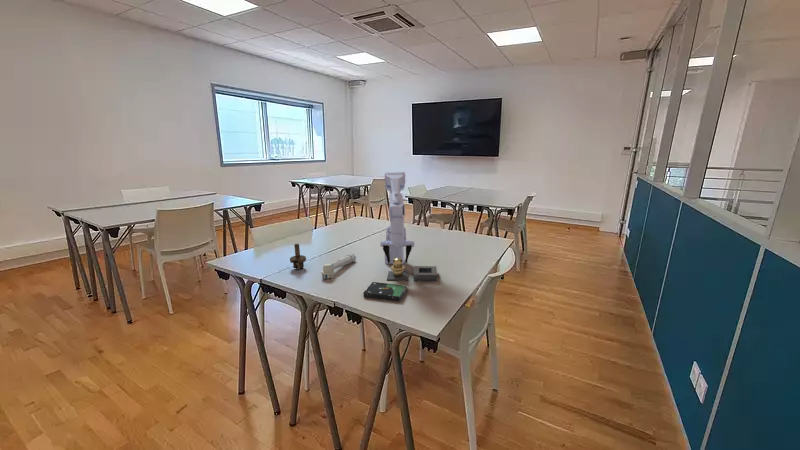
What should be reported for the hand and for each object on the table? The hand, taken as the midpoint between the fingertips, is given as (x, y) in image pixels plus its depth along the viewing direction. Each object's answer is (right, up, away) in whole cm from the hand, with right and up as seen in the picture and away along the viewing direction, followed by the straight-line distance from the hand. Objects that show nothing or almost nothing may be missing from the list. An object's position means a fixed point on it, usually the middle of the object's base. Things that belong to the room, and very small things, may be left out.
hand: (397, 262), depth 141 cm
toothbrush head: (-27, -5, +11) cm, 30 cm away
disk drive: (-5, -11, -15) cm, 19 cm away
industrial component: (-47, -4, +14) cm, 49 cm away
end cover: (0, -6, +2) cm, 6 cm away
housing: (+12, -6, +1) cm, 14 cm away
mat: (0, -6, +2) cm, 7 cm away
